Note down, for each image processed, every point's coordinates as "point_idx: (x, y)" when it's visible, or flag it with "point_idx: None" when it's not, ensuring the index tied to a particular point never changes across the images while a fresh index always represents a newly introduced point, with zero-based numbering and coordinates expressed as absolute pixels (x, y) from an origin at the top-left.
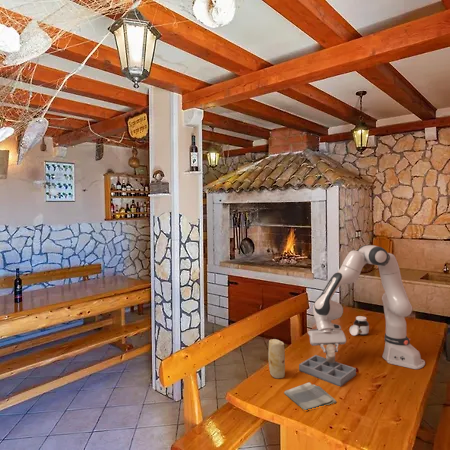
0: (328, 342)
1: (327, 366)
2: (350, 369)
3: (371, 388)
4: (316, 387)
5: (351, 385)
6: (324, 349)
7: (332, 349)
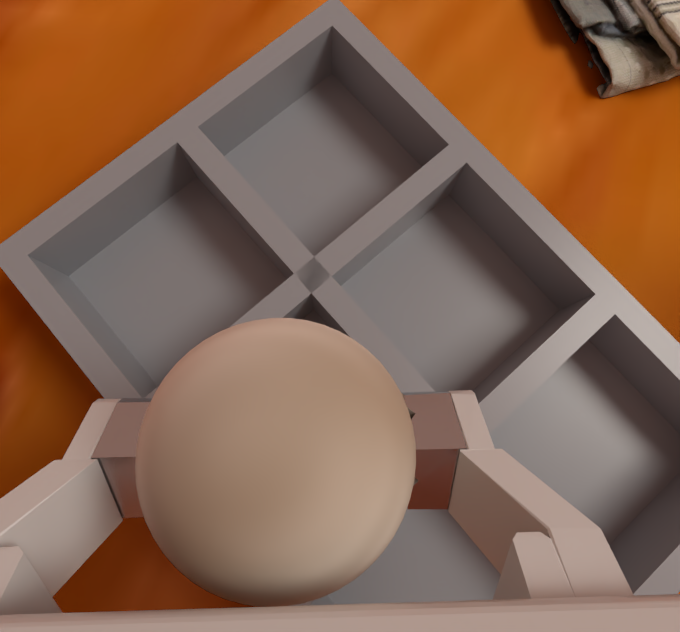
0: (308, 611)
1: (381, 348)
2: (68, 295)
3: (32, 5)
4: (606, 9)
5: (207, 74)
6: (475, 425)
7: (266, 321)
